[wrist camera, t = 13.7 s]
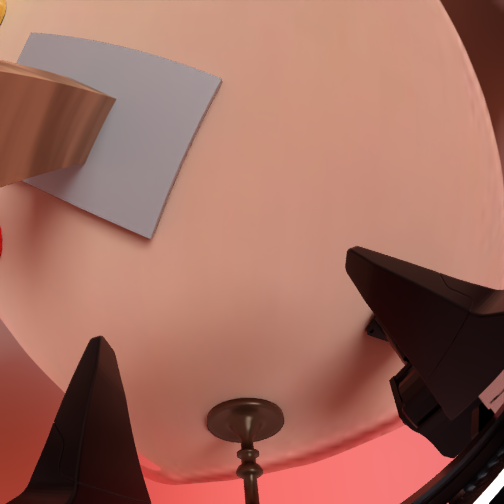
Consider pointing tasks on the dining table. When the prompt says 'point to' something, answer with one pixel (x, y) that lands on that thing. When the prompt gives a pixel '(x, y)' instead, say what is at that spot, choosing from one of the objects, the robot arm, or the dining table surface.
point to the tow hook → (0, 242)
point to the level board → (126, 127)
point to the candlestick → (246, 434)
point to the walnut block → (46, 121)
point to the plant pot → (2, 9)
